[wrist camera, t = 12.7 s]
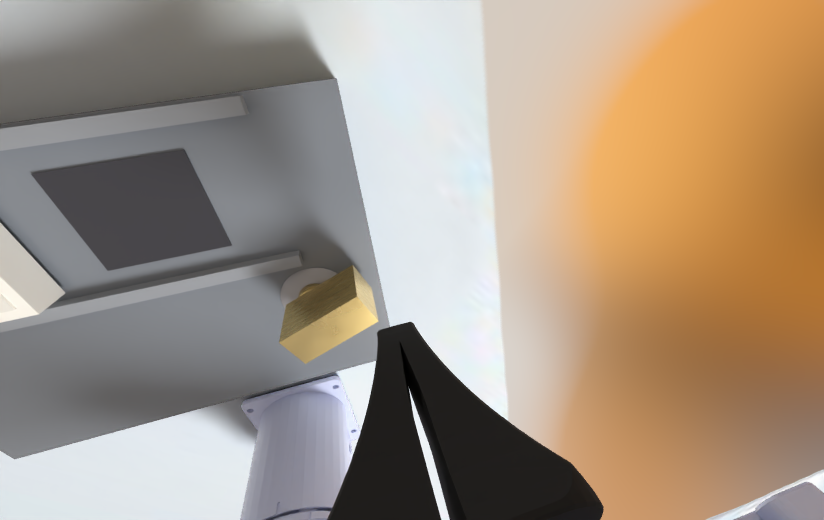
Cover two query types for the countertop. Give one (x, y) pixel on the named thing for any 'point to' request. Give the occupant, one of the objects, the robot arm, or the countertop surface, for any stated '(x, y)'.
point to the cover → (22, 281)
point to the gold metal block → (327, 314)
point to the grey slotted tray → (174, 256)
